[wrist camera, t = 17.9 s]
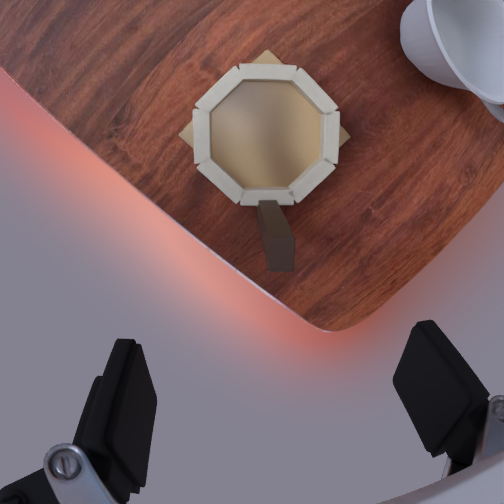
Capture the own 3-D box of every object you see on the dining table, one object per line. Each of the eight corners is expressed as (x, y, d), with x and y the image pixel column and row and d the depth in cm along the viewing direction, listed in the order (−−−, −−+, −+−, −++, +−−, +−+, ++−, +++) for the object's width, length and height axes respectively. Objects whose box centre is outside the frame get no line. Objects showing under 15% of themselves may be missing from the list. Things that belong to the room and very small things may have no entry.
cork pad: (265, 215, 29) (265, 216, 29) (178, 134, 26) (177, 135, 25) (349, 136, 26) (350, 137, 26) (267, 49, 23) (267, 49, 22)
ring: (194, 67, 23) (173, 42, 14) (335, 71, 23) (386, 53, 14) (199, 222, 29) (184, 274, 20) (329, 220, 29) (369, 268, 20)
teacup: (430, 143, 27) (495, 161, 18) (347, 21, 21) (398, -11, 12) (488, 92, 24) (550, 99, 15) (420, -18, 19) (475, -43, 10)
